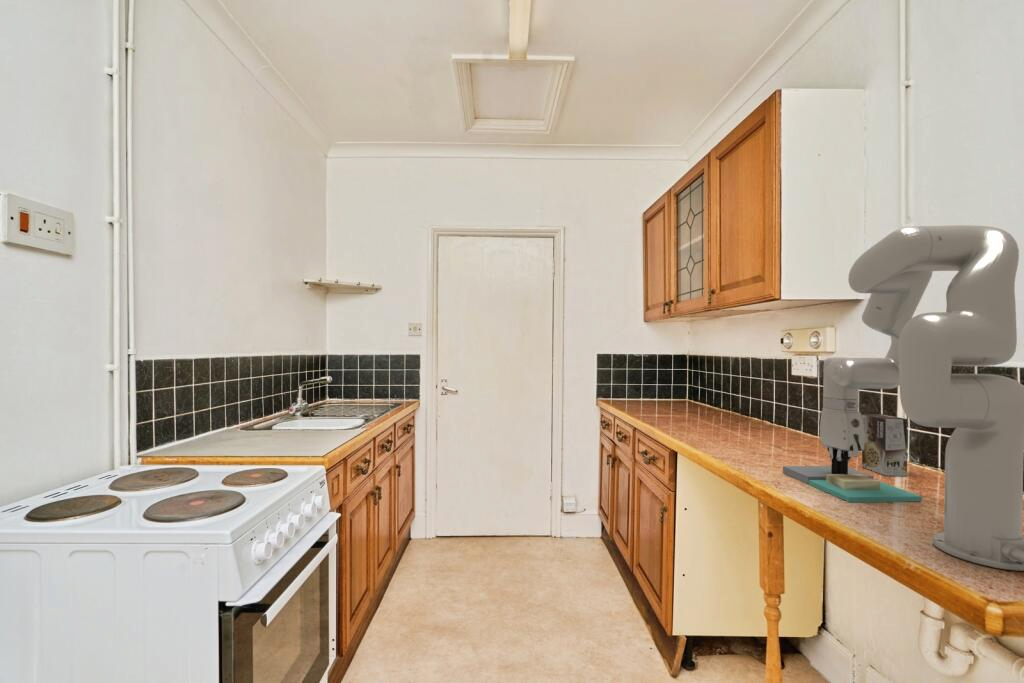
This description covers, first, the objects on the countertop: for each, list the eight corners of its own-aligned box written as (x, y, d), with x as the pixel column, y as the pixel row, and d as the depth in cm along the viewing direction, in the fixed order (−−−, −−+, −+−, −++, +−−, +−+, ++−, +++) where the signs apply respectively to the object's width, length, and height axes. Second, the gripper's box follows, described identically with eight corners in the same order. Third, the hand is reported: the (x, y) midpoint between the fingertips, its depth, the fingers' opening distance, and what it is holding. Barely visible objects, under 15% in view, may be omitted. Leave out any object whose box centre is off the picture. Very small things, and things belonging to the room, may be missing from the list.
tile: (880, 489, 111) (880, 481, 111) (844, 489, 110) (844, 481, 110) (860, 481, 117) (860, 474, 117) (826, 481, 116) (826, 474, 116)
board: (873, 483, 119) (873, 476, 119) (807, 484, 118) (807, 476, 118) (843, 472, 129) (843, 465, 129) (782, 473, 128) (782, 466, 128)
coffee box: (908, 476, 126) (909, 418, 126) (885, 476, 126) (885, 418, 126) (882, 467, 135) (882, 413, 135) (860, 467, 135) (861, 413, 135)
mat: (921, 501, 106) (921, 496, 106) (848, 502, 105) (848, 497, 105) (874, 484, 119) (874, 479, 119) (808, 484, 118) (808, 480, 118)
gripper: (879, 409, 110) (877, 484, 111) (832, 401, 125) (831, 466, 126) (849, 409, 110) (848, 484, 110) (806, 400, 125) (805, 467, 125)
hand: (839, 474), depth 118 cm, fingers closed
